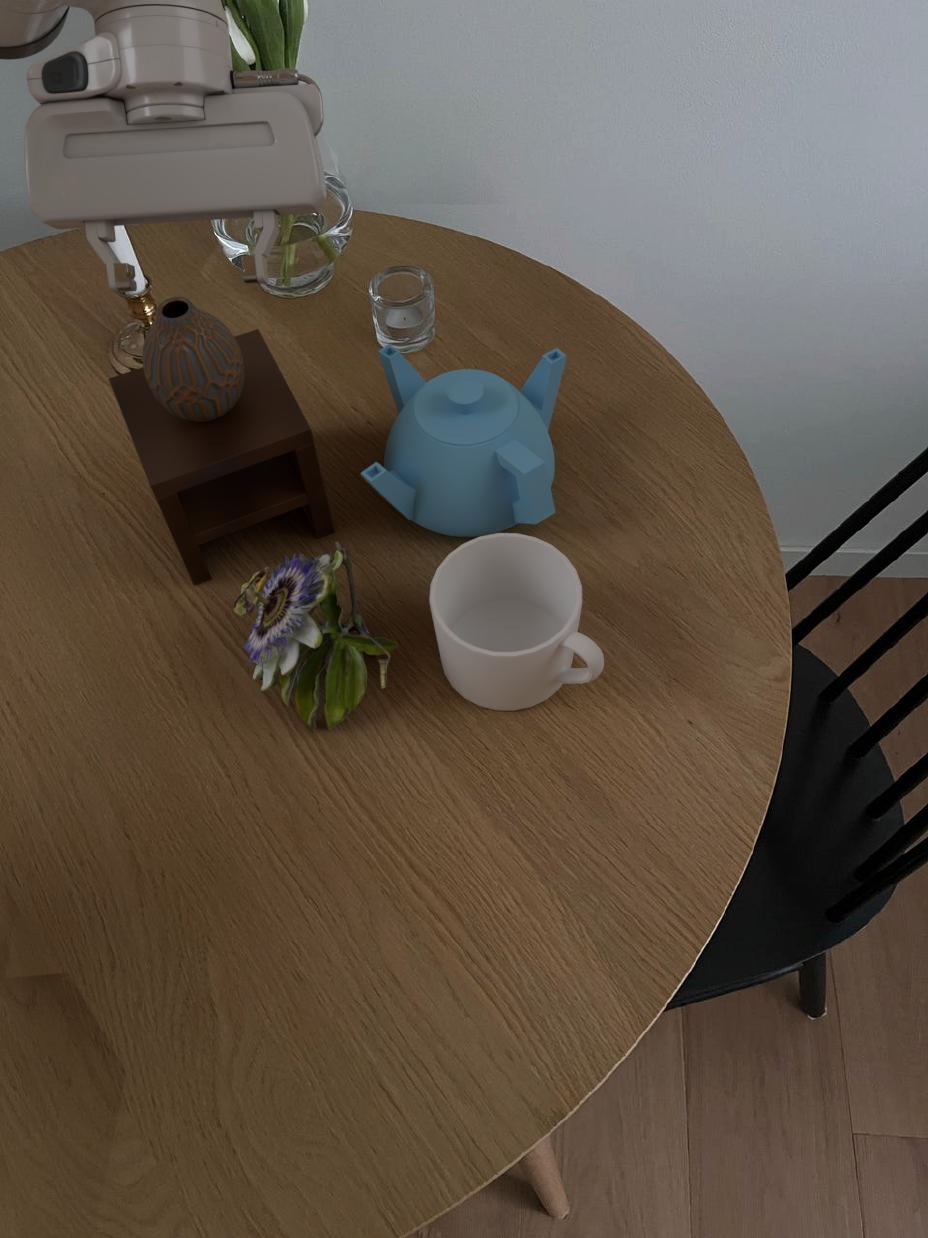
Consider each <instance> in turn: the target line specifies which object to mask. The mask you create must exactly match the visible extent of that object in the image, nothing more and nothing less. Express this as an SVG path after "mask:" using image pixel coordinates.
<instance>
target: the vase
mask: <svg viewBox="0 0 928 1238" xmlns="http://www.w3.org/2000/svg"><path fill="white" fill-rule="evenodd" d="M234 337H235V336H234V334H233V333H232V332H231V330H230V329H229V327H227V325H226V324H224V322H222V320H221V319H219V318H218V317H216V316H215V315H213V314H211V313H210V312H207V311H206V310H204V309H202V308H199V307H197V306H196V304H194V303H193V301H192V300H190V299H188V298H186V297H183V296H172V297H168V298H166V299H164V300H163V301H162V302H161V303H160V304H158V307H157V309H156V315H155V319H154V320H153V323H152V324H151V325H150V328H149V329H148V331H147V333H146V334H145V338H144V340H143V345H142V357H141V358H142V367H143V369H144V374H145V377H146V380H147V382H148V385H149V387H150V389H151V391H152V393H153V395H154V396H155V397H156V399H157V400H158V401H159V403H160V404H161V405H162V406H163V407H164V408H165V409H166V410H168V411H169V412H170V413H172V414H173V415H175V416H177V417H179V418H182V419H184V420H188V421H194V422H207V421H212V420H215V419H217V418H219V417H221V416H223V415H224V414H226V413H227V412H228V411H229V410H231V409H232V408H233V407H234V405H235V404H236V403H237V401H238V400H239V398H240V396H241V393H242V390H243V387H244V380H245V367H244V361H243V357H242V353H241V350H240V347H239V345H238V343H237V341H236V339H235V338H234Z"/></svg>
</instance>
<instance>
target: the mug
mask: <svg viewBox="0 0 928 1238" xmlns="http://www.w3.org/2000/svg"><path fill="white" fill-rule="evenodd" d="M429 586H430V587H429V597H428V598H429V599H428V602H429V606H430V611H431V612H430V613H431V616H432V622H433V626H434V632H435V636H436V642H437V647H438V651H439V657H440V662H441V666H442V670H443V674H444V676H445V678H446V679H447V680H448V682H449V684H450V686H451V687H452V688H453V689H454V691H455V692H457V693H458V694H459V695H460V696H461V697H462V698H464V699H465V700H467V701H469V702H471V703H473V704H475V705H476V706H478V707H481V708H486V709H490V710H493V711H501V712H502V711H506V712H507V711H511V712H515V711H519V710H524V709H529V708H532V707H534V706H537V705H538V704H541V703H543V702H545V701H547V700H549V698H550V697H552V696H553V695H554V694H556V693H557V691H559V690H560V689H561V687H562V686H563V684H564V685H565V684H568V685H569V684H573V685H574V684H586V683H592V682H594V681H595V680H596V679H597V678H598V677H599V676H600V675H601V673H602V671H603V670H604V667H605V659H604V658H605V657H604V653H603V651H602V649H601V648H600V647H599V645H598V644H597V642H595V641H594V640H592V639H591V638H589V636H587V635H585V634H583V633H581V632H579V626H580V620H581V614H582V609H583V585H582V582H581V579H580V575H579V574H578V570H577V569H576V568H575V566H574V565H573V563H572V562H571V561H570V560H569V558H568V556H566V555H565V554H564V553H563V552H561V551H560V550H559V549H557V548H556V547H555V546H554V545H553V544H550V543H548V542H546V541H544V540H542V539H540V538H537V537H535V536H531V535H526V534H522V533H518V532H497V533H494V534H490V535H485V536H479V537H475V538H473V539H471V540H469V541H466V542H463V543H462V544H461V545H459V546H458V547H456V549H454V550H453V551H451V552H450V553H448V555H446V557H445V558H444V559H443V561H442V562H440V564H439V566H438V567H437V569H436V570H435V572H434V575H433V578H432V580H431V582H430V585H429ZM575 654H577V656H579V657H580V658H581V659H582V660H583V661H584V662H585V663H586V666H587V667H572V665H573V660H574V655H575Z"/></svg>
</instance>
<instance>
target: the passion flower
mask: <svg viewBox="0 0 928 1238" xmlns="http://www.w3.org/2000/svg"><path fill="white" fill-rule="evenodd" d="M334 545H335V553H334V555H333V554H332V553H331V552H323V553H321V554H319V555H317V556H316V557H314V558H313V557H309V558H308V557H306V556H305V555H304V553H299V554H298V557H297V553H293V556H292V559H289V557H288V556H285V557H284V559H285V562H283V563H279V564H278V565H277V566H276V567H275V568H273V570H272V571H271V570H270V567H269V566H265V567H263V568H262V569H261V570H259V571H256V572H255V573H253V574H252V577H251V578H250V579H249V581H248V582H245V583H243V584H242V585H241V588H240V589H241V590H240V595H239V596H238V597H237V598H236V599H235V601H234V603H233V611H234V612H235V614H236V615H238V616H241V617H243V616H246V615H248V614H252V613H253V612H254V610H255V608H256V609H257V610H256V611H257V617H256V618H255V622H254V623H253V624H252V629H251V630H250V632H249V634H250V635H249V637H248V638H247V641H246V642H245V643H244V645H243V649H244V650H245V651H246V652H248V653H249V658H248V660H246V662H245V664H244V666H245V667H246V666H247V665H248V664H249V665H250V666H251V665H255V664H256V665H255V669H254V672H253V675H252V679H253V680H255V681H262V685H261V687H260V691H261V692H266V691H268V690H270V689H272V688H274V687H276V685H278V684H279V685H280V698H281V699H282V701H283V704H284V705H286V706H289V705H290V703H289V702H290V698H291V697H290V696H291V692H292V689H293V688H294V683H295V681H296V687H295V694H294V698H295V699H294V700H295V704H296V712H297V714H298V716H299V718H300V719H301V721H302V722H304V723H306V724H307V726H309V727H310V728H311V729H313V730H316V729H317V727H318V725H317V719H318V717H319V713H320V712H321V711H320V710H321V706H322V703H321V695H322V678H323V675H324V673H325V670H326V674H325V681H324V687H325V689H324V691H325V693H324V694H325V701H326V702H325V703H324V705H323V711H324V716H325V721H326V728H327V729H328V731H332V730H333V729H334V728H335V727H337V726H339V724H341V723H343V722H344V721H345V719H346V718H347V716H349V715H350V714H351V713H352V712H353V711H354V710H355V709H356V708H357V707H358V705H359V704H360V703H361V701H362V700H363V698H364V696H365V694H366V690H367V685H368V679H369V678H368V677H369V675H368V670H367V665H366V662H365V658H364V655H363V652H364V653H365V654H367V655H369V656H374V657H375V658H377V657H379V656H382V655H387V659H386V658H385V659H383V658H382V659H381V658H379V659H378V660H377V662H378V664H379V673H380V674H379V681H380V688H381V689H386V688H387V685H388V677H387V676H388V669H387V668H388V665H389V662H390V659H391V654H390V653H391V652H393V651H394V650H395V649H397V648H398V646H399V645H398V643H397V642H396V641H394V640H392V639H389V638H387V637H384V636H380V635H374V634H371V633H370V631H369V630H368V628H367V626H366V623H365V621H364V619H363V616H362V613H361V611H360V610H359V607H358V602H357V601H358V600H357V595H356V589H355V583H354V577H353V567H352V560H351V556H350V550H349V549H347V548H345V547H343V545H341V544H340V542H338V541H335V542H334ZM341 565H343V566H344V567H345V570H346V574H347V582H348V587H349V595H350V600H351V601H350V602H351V611H350V614H349V617H348V619H347V622H346V623H342V618H343V612H344V607H343V605H341V604H340V602H339V591H340V585H339V583H338V578H337V576H336V575H335V571H337V570H338V569H339V568H340V566H341ZM270 571H271V575H270ZM269 575H270V576H271V577H270V579H268V580H267V582H266V579H267V578H268V576H269ZM265 582H266V583H265ZM262 589H263V591H262ZM261 591H262V593H261ZM260 593H261V594H260ZM318 606H319V608H320V610H321V611H322V613H323V615H324V618H325V621H324V622H318V621H317V620H316V619H315V617H314V616H313V613H314V612H315V610H316V609H317V608H318ZM352 632H356V634H350V633H352ZM324 636H327V638H326V639H325V640H324V641H323V639H324ZM311 648H312V649H317V648H319V649H318V650H317V651H314V652H313V653H312V654H311V655H310V656H309V657H308V658H307V659H306V660H305V662H303V660H304V659H305V656H306V654H307V653H308V652H309V651H310V649H311ZM302 662H303V664H302ZM301 664H302V665H301ZM300 666H301V667H300ZM299 667H300V668H299Z"/></svg>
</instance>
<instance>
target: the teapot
mask: <svg viewBox="0 0 928 1238" xmlns="http://www.w3.org/2000/svg"><path fill="white" fill-rule="evenodd" d="M377 354H378V357H379V360H380V363H381V366H382V369H383V373H384V375H385V378H386V381H387V384H388V387H389V389H390V393H391V395H392V399H393V402H394V404H395V407H396V411H397V414H398V415H397V417H396V418H395V420H394V422H393V424H392V426H391V428H390V432H389V434H388V438H387V441H386V445H385V449H384V450H385V451H384V457H383V466H382V465H381V464H380V463H378V462H377V461H375V462H374V463H373V464H371V465H370V466H369V467H367V468H365V469H364V470H363V471H362V472H360V476H361V477H362V478H363V479H364V480H365V481H366V482H367V483H368V484H369V485H370V486H371V487H372V488H373V489H374V490H376V492H377V494H379V495H380V496H381V497H382V498H383V500H385V501H386V502H388V504H389V505H391V506H392V507H393V508H394V509H395V510H397V511H398V512H399V513H400V514H402V516H404V517H405V518H406V519H407V520H409V521H412V522H414V523H415V524H417V525H419V526H420V527H422V528H424V529H426V530H429V531H432V532H435V533H438V534H440V535H444V536H449V537H457V538H478V537H481V536H486V535H491V534H496V533H502V532H503V531H506V530H508V529H510V528H512V527H515V526H517V525H518V524H525V525H526V524H528V525H537V524H539V523H541V522H542V521H544V520H547V519H548V518H550V516H553V515H554V514H556V512H557V511H556V507H555V503H554V499H553V498H554V497H553V493H552V489H551V488H552V486H553V482H554V479H555V473H556V471H555V469H556V468H555V467H556V465H555V463H556V461H555V453H554V447H553V443H552V439H551V436H550V433H549V429H550V425H551V421H552V418H553V413H554V409H555V406H556V401H557V398H558V393H559V390H560V385H561V382H562V377H563V375H564V370H565V366H566V361H567V357H568V356H567V355H566V354H565V353H564V352H563V351H562V350H561V349H559V348H558V347H556V348H554V349H552V350H550V351H548V352H546V353H544V354H542V355H541V359H540V360H539V362H538V363H537V365H535V366H536V367H535V368H534V369H533V371H532V373H531V374H530V375H529V377H528V378H527V380H526V381H525V383H524V384H523V386H522V388H521V389H520V390H518V389H517V388H516V387H515V386H514V385H513V384H512V383H510V382H509V381H507V380H506V379H504V378H502V376H499V375H498V374H495V373H492V372H490V371H487V370H482V369H473V368H462V369H455V370H454V369H453V370H451V371H447V372H444V373H441V374H439V375H437V376H435V377H432V378H431V379H430V380H428V381H426V380H425V379H424V378H423V377H422V376H421V374H420V373H419V372H418V371H417V370H416V369H415V368H414V366H413V365H412V364H411V363H410V362H409V361H408V360H407V358H405V356H404V355H403V354H402V351H401V350H399V349H398V348H397V347H395V346H393V345H392V344H390V343H388V344H386V345H385V346H384V347H382V348H380V349H379V350H377Z"/></svg>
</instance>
